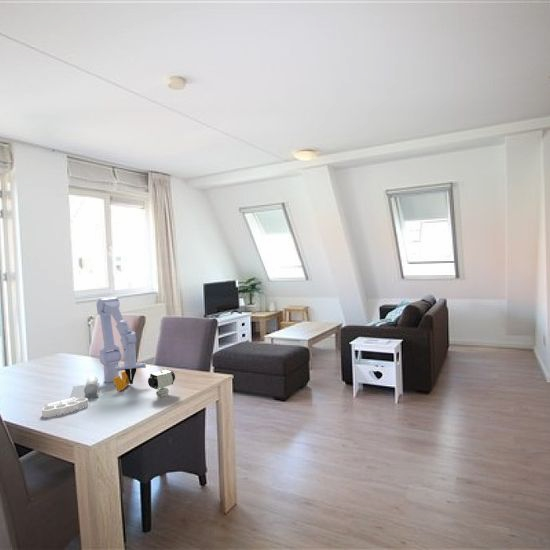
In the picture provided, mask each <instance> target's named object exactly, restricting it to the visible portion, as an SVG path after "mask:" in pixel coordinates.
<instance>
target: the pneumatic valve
mask: <svg viewBox="0 0 550 550" xmlns="http://www.w3.org/2000/svg"><path fill="white" fill-rule="evenodd" d="M175 380H176V375H175V372H174V371H173V370H169V369H164V370H163V369H160V371H158V372H153V373H150V376H149V377H148V378H147V385H148V386H149V387H150V388H152V389H154V390H156V392H155V394H156V396H157V397H160V398H163V397H167V396H168V395H169V388H168V387H169V386H171V385H174V383H175Z"/></svg>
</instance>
